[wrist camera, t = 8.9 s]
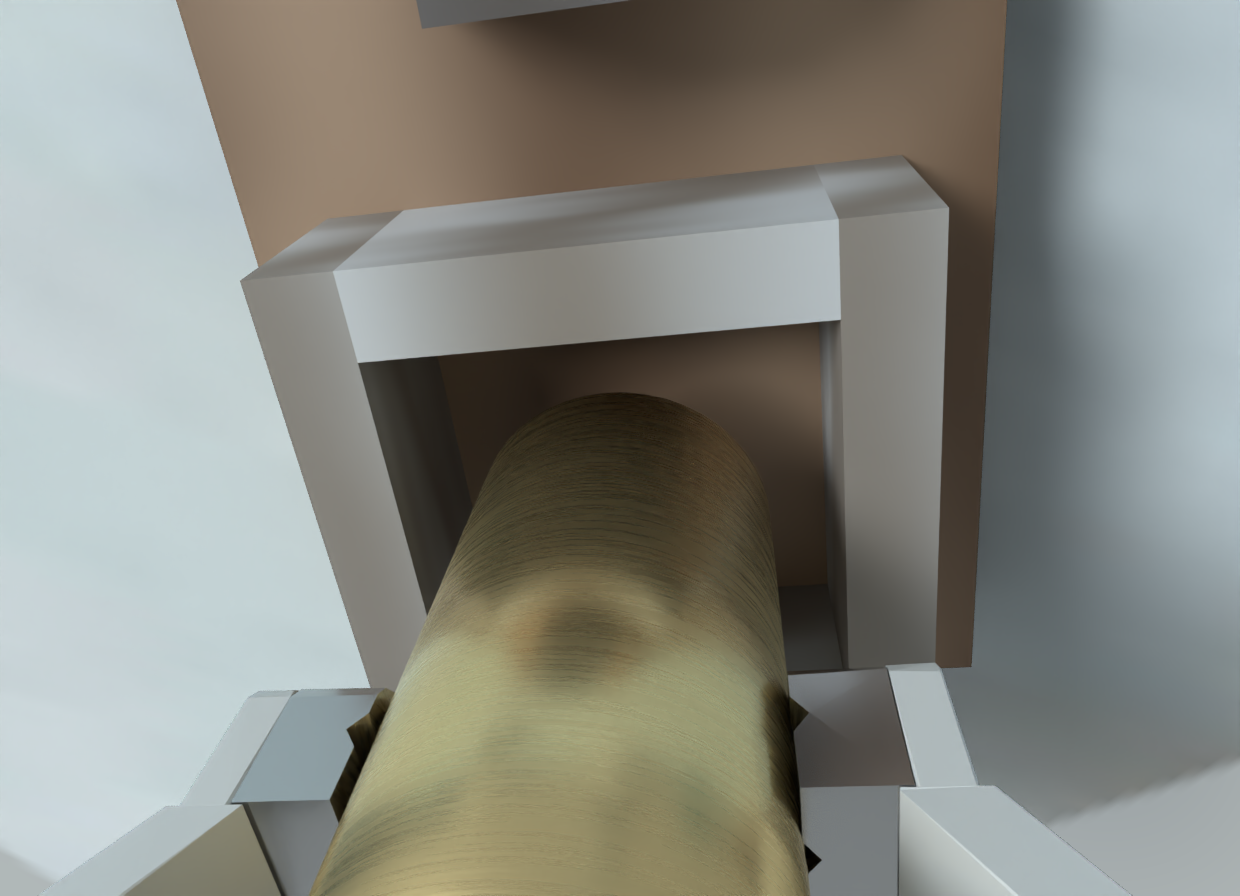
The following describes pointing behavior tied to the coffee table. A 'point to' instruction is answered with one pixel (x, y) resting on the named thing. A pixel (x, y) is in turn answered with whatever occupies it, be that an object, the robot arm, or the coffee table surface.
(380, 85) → the board
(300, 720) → the robot arm
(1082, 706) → the coffee table surface
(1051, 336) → the coffee table surface
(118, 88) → the coffee table surface
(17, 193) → the coffee table surface
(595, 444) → the brass cylinder rod
